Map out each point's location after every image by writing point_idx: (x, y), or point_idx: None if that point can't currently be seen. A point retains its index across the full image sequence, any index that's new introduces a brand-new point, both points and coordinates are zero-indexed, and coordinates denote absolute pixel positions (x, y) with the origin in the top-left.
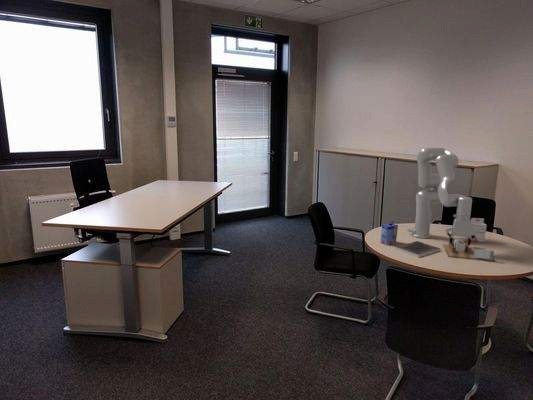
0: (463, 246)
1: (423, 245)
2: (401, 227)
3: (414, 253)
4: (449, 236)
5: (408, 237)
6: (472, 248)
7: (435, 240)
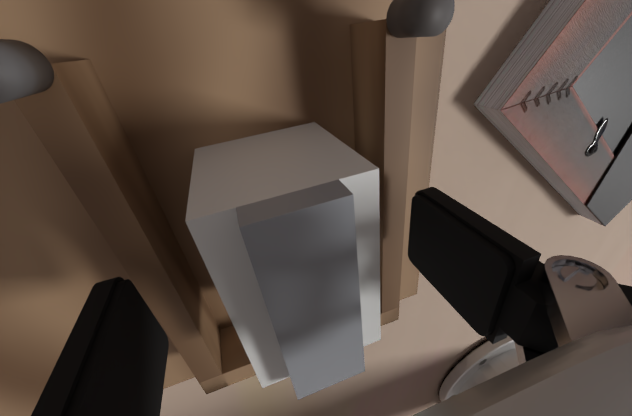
0: (219, 182)
1: (617, 133)
2: None
3: None
4: (603, 285)
5: None
6: None
7: (432, 349)
